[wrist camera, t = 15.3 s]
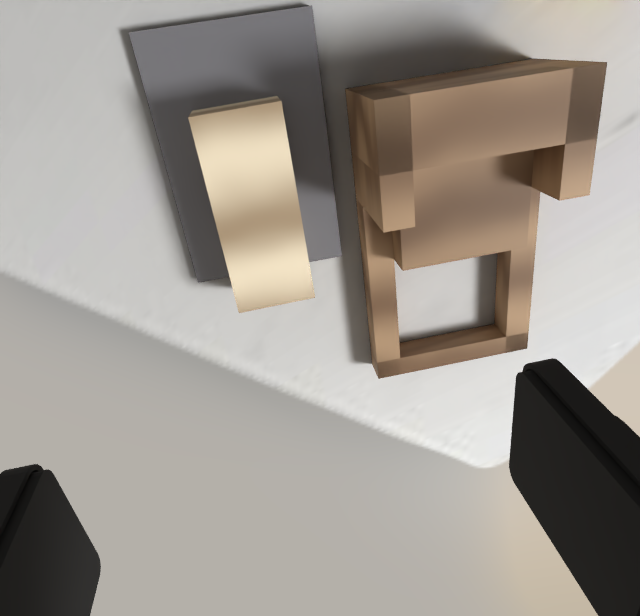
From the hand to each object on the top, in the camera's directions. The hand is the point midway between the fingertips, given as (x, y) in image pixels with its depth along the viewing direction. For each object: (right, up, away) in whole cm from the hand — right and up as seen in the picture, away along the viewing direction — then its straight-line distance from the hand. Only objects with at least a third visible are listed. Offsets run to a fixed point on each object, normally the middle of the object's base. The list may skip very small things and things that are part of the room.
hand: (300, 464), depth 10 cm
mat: (-4, +13, +21) cm, 25 cm away
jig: (+9, +9, +25) cm, 28 cm away
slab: (-4, +10, +22) cm, 24 cm away
